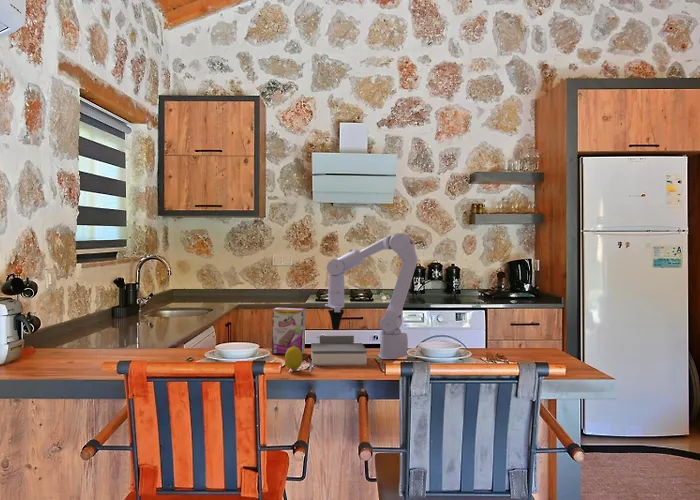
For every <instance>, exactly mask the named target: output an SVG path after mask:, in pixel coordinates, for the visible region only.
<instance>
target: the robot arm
mask: <svg viewBox="0 0 700 500" xmlns="http://www.w3.org/2000/svg"><path fill="white" fill-rule="evenodd" d="M383 250H392V251H393V252H394V253H396V254H397V255H398V257H399V259H400V260H401V262H402V263H401V267H400V269H399V272H398V276H397V279H396V282H395V285H394V288H393V292H392V294H391V295H392V296H391V299H390V300H389V301H390V302H389V303H388V304H389V305H388V307H387V308H386V310H385V313H384V315H383V316H382V317H381V319H380V321H379V327H380V347H379V348H380V350H379V351H380V353H378V354H377V356H378V357H379V359H380V358H381V359H396V358H398V357H402V356H406V355H407V351H408V347H409V344H408V343H409V341H408V334H407V333H406V332H402V330H401V329H400V327H401V326H402V324H403V318H402V317H403V312H404V311H403V309H404V305H405V302H406V299H407V296H408V295H407V294H408V293H409V289H410V286H411V284H412V280H413V276H414V273H415V270H416V268H417V264H418V256H417V252H416V248H415V242H414V241H413V239H412V238H411V237H410V235H409V234H406V233H400V232H398V233H397V232H396V233H394V234H392V235H388V236H386V237H384V238H381V239H379V240H377V241H375V242H374V243H371V244H369V245H368V246H367V247H364V248H363V249H361V250H359V249H356V248H355V249H352V248H351V249H350V250H348V252H346V253H345V254H343V255H338V256H337V258H332V259H331V260H330V261H329V262H328V263H327V265H326V270H327V272H328V290H327V291H328V294H327V295H328V297H327V298H328V299H327V303H325V304H324V306H325V307H328V308H332V309H327V312H328V314H329V317H330V321H331V322H330V323H331V328H332V330H333V331H339V330H340V325H341V320H342V317H343V315H344V313H345V311H344V309H342V308H345V273H346V272H347V271H350V270H352V269H354V268H355V267H358V266H360V265H362V264H363V263H364V260H365V258H368V257H371V256H373V255H375V254H377V253H379V252H381V251H383ZM407 356H408V355H407ZM381 359H380V360H381Z"/></svg>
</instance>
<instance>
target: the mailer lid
mask: <svg viewBox="0 0 700 500" xmlns="http://www.w3.org/2000/svg"><path fill="white" fill-rule="evenodd" d="M354 338H355V337H354V335H319V342H311V343H310V345H311V346H310V348H311V347H312V353H367V354H368V351H367V349H366V347H365V345H364V344H363V343H362V342H355V339H354Z"/></svg>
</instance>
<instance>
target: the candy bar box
mask: <svg viewBox="0 0 700 500" xmlns="http://www.w3.org/2000/svg"><path fill="white" fill-rule="evenodd" d="M305 325H306V309H305V308H293V307H292V308H291V307H290V308H289V307H275V308H273V309H272V331H271V332H272V333H271V334H272V337H271V338H272V340H271V342H272V343H271V344H272V345H271V353H272V355H285V354H286V351H287V350H288V349H289V348H290V347H292V346H296V347H297V348H299V349H300V350H301V352H302V355H304V354H305V342H306V341H305V339H306V338H305V336H306V335H305V330H306V329H305V327H306V326H305Z"/></svg>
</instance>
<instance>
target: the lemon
mask: <svg viewBox="0 0 700 500" xmlns="http://www.w3.org/2000/svg"><path fill="white" fill-rule="evenodd" d="M284 363H285V365H286V366H287V368H288V369H290V370H292V372H295V371H296V370H297V369H299V368H300V367H301V365H302V364H303V354H302V352H301V350H300V349H299V348H297V347H296V346H292V347H290V348H289V349H288V350H287V351H286V354H285V356H284Z"/></svg>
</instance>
